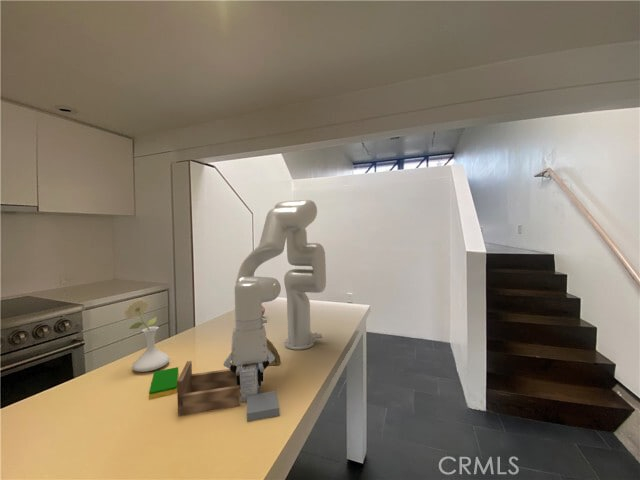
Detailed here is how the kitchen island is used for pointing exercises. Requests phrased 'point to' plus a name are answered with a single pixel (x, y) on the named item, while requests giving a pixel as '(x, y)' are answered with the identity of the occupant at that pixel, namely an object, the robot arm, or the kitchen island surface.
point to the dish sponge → (164, 383)
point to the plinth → (262, 406)
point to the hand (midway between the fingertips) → (250, 384)
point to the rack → (206, 391)
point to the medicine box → (249, 380)
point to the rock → (274, 352)
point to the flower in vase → (151, 356)
